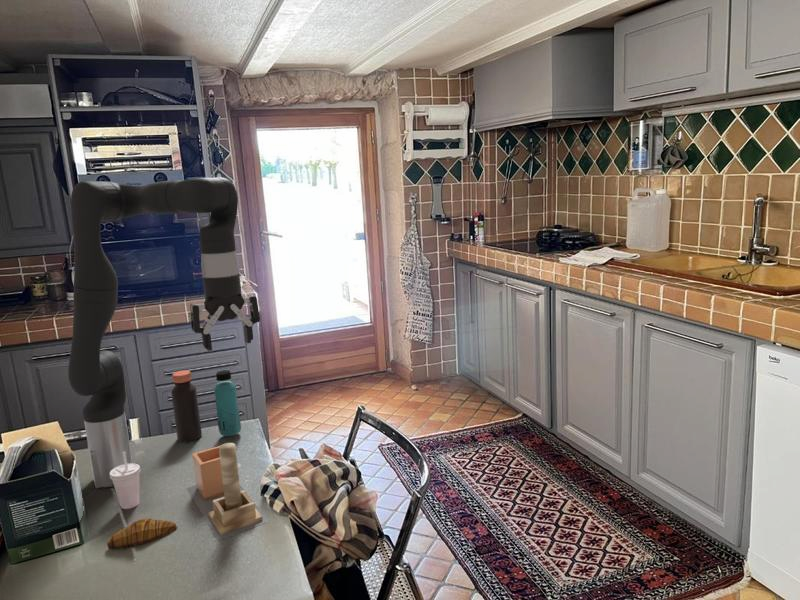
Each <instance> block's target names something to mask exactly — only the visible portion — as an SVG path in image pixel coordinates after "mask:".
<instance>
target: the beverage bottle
mask: <svg viewBox="0 0 800 600" xmlns="http://www.w3.org/2000/svg"><path fill="white" fill-rule="evenodd" d="M215 379H216V381H218V382H217V383H216V384H215V385H214V387H213V390H214V398H215V399H214V402H215V403H214V404H215V407H216V416H217V418H216V420H217V427H218V433H220V435H221V436H225V437H226V436H227V437H228V436H234V435H236V434H238V433H240V432H241V430H242V422H241V414H240V407H239V402H238V392H237V384H236V383H235V382H233V381H232V380H231V379H232V374H231V371H230V370H226V369H225V370H220V371H218V372H216V378H215Z"/></svg>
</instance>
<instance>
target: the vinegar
mask: <svg viewBox="0 0 800 600" xmlns="http://www.w3.org/2000/svg"><path fill="white" fill-rule="evenodd" d="M172 381H173V384H174V387H173V389H172V390H171V391H170V392H171V394H170V395H171V400H172V401H171V402H172V408H173V414H174V415H173V416H174V422H175V431H176V437H177V440H178V441H179V442H180V443H188V442H189V443H190V441H191V442H194V441H197V440H199V439H200V438H201V437H202V435H203V432H202V427H201V426H202V425H201V418H200V417H201V416H200V409H199V399H198V393H197V387H196V386H195V385H193V383H191V382H192V374H191V370H179V371H175V372H174V373H172ZM198 438H199V439H198Z"/></svg>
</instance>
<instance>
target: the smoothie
mask: <svg viewBox="0 0 800 600" xmlns="http://www.w3.org/2000/svg"><path fill="white" fill-rule="evenodd" d="M123 457H124V465H120V466H118V467H116V468H114V469H112V470H111V471H110V479H112V481H113V483H112V484H113V488H114V490H115V494H116V496H117V499H118V502H119V504H120V508H121V509H124V510H129V509H133V508H135V507H136V506H139V504H140V473H141V466H140V465H139V464H138V463H135V462H134V463H129V464H127V459H126V452H123Z"/></svg>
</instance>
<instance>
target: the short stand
mask: <svg viewBox="0 0 800 600" xmlns="http://www.w3.org/2000/svg"><path fill="white" fill-rule="evenodd" d="M244 490H245V489H244ZM244 490H243V491H241V500H242V506H240V507H237V508H234V509H232V510H229V511H226V505H225V497H222V498H219V499H216V500H213V507H214V511H211V512H208V513H209V517H210V518H211V520H212V522H213V523H214V525H215V527H216V528H217V530H218V531H219V533H220V535H223V534H226V533H228V532H231V531H234V530H236V529H239V528H242V527H245V526H247V525H250V524H253V523H255V522H258V521H261V520H262V516H261V514H260V513H259V512H258V511H257V509H256V508H255V504H256V503H255V502H253V501H254V500H253V499H252V498H251V496H250V495H249V494H248V493H247V491H246V492H245V491H244ZM247 494H248V495H249V496H250V497H249V496H248V495H247ZM251 499H252V500H253V501H252V500H251Z"/></svg>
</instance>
